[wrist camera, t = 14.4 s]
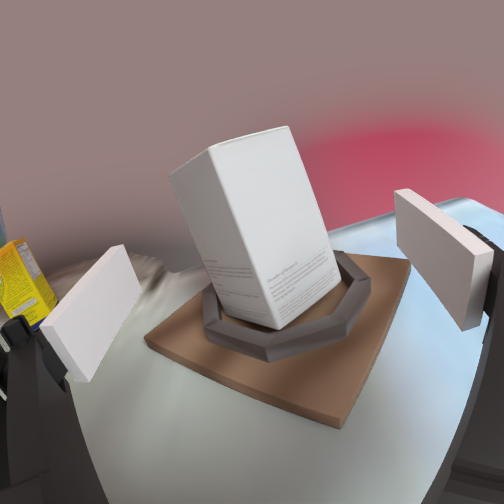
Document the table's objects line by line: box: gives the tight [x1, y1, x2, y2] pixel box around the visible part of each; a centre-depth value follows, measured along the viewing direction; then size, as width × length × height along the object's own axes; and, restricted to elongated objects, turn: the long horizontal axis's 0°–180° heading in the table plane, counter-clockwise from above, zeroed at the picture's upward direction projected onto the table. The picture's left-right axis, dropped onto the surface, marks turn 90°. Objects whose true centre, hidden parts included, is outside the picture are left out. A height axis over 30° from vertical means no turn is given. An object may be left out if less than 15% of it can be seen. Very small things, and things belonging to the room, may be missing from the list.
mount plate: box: [144, 250, 411, 429], centre depth 26 cm, size 18×18×3 cm
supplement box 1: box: [0, 237, 59, 331], centre depth 32 cm, size 6×6×11 cm
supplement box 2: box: [168, 126, 341, 330], centre depth 24 cm, size 7×7×13 cm
